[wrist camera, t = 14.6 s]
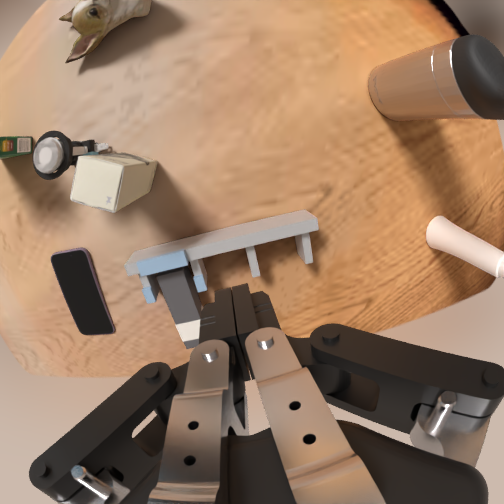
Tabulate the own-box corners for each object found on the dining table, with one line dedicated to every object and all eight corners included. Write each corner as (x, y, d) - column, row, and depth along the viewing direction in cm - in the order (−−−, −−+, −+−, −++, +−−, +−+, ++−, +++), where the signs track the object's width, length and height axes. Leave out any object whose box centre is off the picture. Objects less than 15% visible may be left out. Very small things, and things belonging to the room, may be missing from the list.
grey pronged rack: (304, 208, 37) (319, 218, 32) (310, 249, 39) (325, 265, 34) (134, 250, 36) (121, 266, 31) (148, 289, 38) (139, 310, 33)
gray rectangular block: (161, 264, 38) (155, 277, 34) (186, 258, 38) (183, 270, 34) (188, 333, 42) (186, 349, 38) (210, 328, 42) (210, 344, 38)
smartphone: (81, 335, 40) (48, 255, 34) (83, 331, 41) (51, 252, 35) (116, 333, 40) (85, 248, 34) (117, 329, 41) (88, 245, 35)
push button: (108, 127, 30) (73, 121, 21) (111, 165, 32) (77, 172, 23) (67, 138, 29) (26, 138, 20) (70, 175, 31) (30, 185, 22)
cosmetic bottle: (441, 250, 43) (527, 305, 22) (421, 244, 42) (515, 303, 21) (451, 220, 41) (543, 265, 21) (431, 211, 40) (533, 257, 19)
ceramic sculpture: (156, -6, 18) (43, 58, 19) (172, 23, 26) (76, 70, 27) (141, -53, 14) (39, 4, 15) (156, -24, 22) (67, 21, 23)
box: (159, 160, 33) (128, 165, 21) (150, 193, 34) (117, 215, 22) (122, 151, 32) (77, 153, 20) (114, 183, 33) (68, 201, 21)
